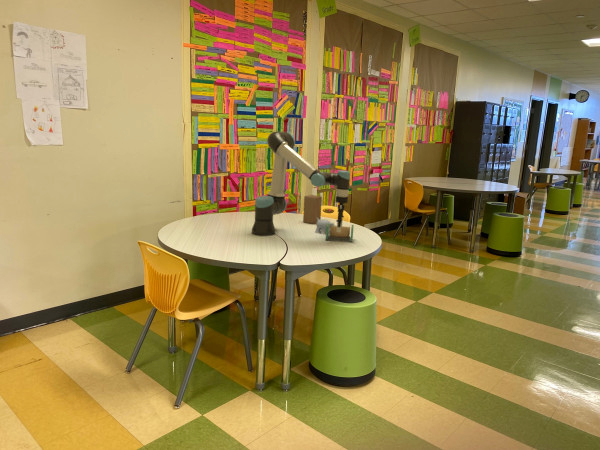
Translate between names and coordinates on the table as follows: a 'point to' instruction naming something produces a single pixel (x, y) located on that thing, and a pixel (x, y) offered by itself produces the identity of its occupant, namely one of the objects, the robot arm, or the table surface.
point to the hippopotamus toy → (323, 226)
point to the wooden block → (312, 209)
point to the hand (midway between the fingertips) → (339, 229)
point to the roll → (344, 232)
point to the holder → (338, 237)
